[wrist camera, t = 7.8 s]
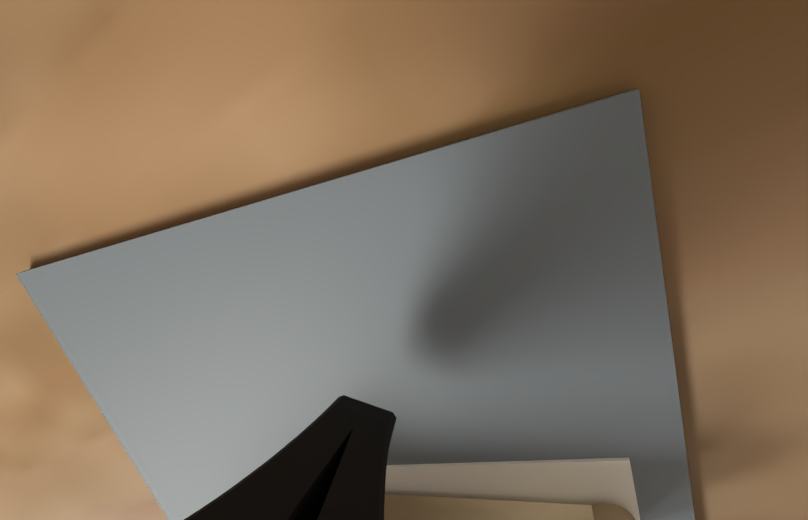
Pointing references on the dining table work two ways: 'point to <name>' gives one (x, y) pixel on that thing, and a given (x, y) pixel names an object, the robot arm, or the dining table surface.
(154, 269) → the card
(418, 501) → the fence panel
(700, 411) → the dining table surface
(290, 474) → the robot arm
